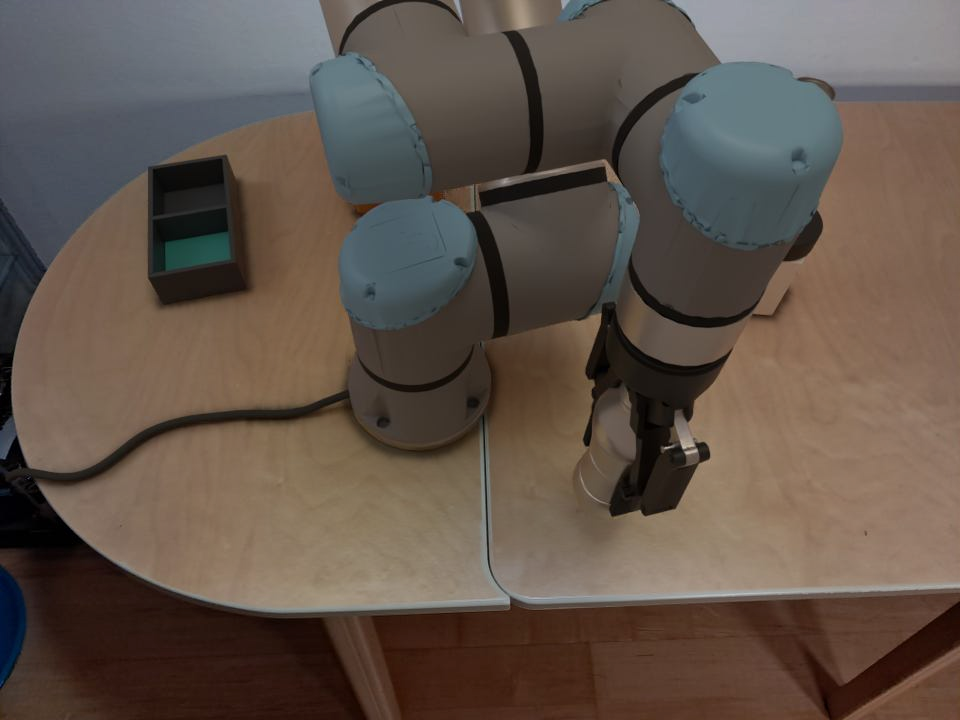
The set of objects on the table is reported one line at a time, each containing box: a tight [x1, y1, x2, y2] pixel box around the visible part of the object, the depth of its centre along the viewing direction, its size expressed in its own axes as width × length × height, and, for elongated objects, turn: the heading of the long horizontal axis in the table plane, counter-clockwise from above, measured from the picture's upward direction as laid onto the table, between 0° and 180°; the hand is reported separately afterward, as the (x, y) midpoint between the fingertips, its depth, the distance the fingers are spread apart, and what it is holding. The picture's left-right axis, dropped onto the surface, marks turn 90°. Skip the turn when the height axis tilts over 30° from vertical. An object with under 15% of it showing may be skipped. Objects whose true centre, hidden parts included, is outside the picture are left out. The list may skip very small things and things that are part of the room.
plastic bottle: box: [572, 381, 636, 521], centre depth 57 cm, size 6×7×20 cm
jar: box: [752, 209, 824, 316], centre depth 79 cm, size 9×8×12 cm
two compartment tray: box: [147, 154, 248, 305], centre depth 86 cm, size 19×10×5 cm, turn 15°
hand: (611, 473), depth 62 cm, fingers closed on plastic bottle, 6 cm apart
